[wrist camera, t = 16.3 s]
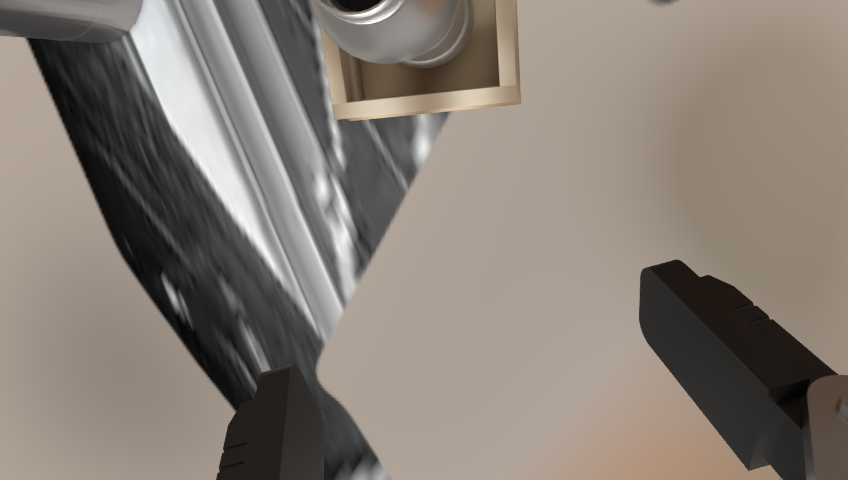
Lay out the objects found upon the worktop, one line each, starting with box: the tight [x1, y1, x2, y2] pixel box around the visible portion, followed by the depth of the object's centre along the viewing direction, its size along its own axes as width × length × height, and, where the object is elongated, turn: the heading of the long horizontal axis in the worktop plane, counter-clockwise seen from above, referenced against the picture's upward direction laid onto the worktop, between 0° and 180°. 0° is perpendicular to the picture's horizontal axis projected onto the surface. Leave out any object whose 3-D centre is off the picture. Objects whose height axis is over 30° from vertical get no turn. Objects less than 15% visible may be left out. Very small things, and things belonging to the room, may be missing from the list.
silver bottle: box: [310, 0, 474, 69], centre depth 25 cm, size 6×7×20 cm
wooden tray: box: [319, 0, 521, 121], centre depth 33 cm, size 13×13×6 cm
